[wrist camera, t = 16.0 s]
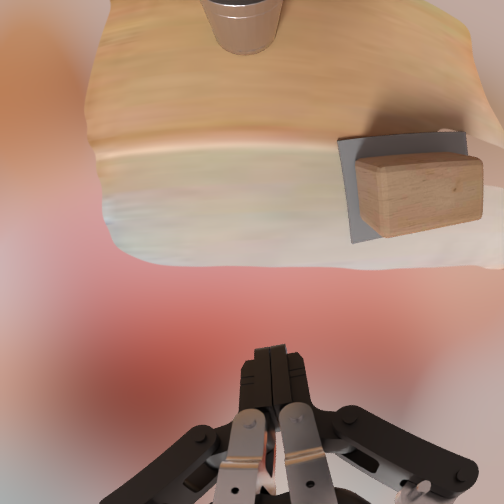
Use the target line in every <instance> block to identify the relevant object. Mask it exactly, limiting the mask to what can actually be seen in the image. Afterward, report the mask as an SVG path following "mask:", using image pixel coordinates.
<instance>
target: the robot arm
mask: <svg viewBox="0 0 504 504" xmlns="http://www.w3.org/2000/svg"><path fill="white" fill-rule="evenodd" d="M200 2H201V4H202V6H203V9H204V11H205V13H206V16H207V18H208V20H209V23H210V25H211V27H212V30H213V32H214V35H215V37H216V39H217V41H218V43H219V44H220V45H221V46H222V48H224V49H225V50H227V51H229V52H231V53H234V54H239V55H250V54H255V53H259V52H261V51H263V50H265V49H266V48H267V47H269V46H270V44H271V43H272V42H273V40H274V38H275V35H276V30H277V26H278V22H279V17H280V12H281V8H282V3H283V0H200ZM254 352H255V353H254V360H248V361H246V362H245V363H244V365H243V367H242V369H241V380H240V385H241V386H240V398H239V412H238V414H237V415H236V416H235V417H234V419H233V421H232V422H230V423H229V424H227V425H224V426H221V427H218V428H215V429H213V428H211V427H210V426H207V425H198V426H195V427H193V428H191V429H190V430H189V431H188V432H187V433H186V434H184V435H183V436H182V437H181V438H180V439H179V440H178V441H176V442H175V443H174V444H173V445H172V446H171V447H170V448H168V449H167V450H166V451H165V452H164V453H162V454H161V455H160V456H159V457H158V458H157V459H155V460H154V461H153V462H152V463H150V464H149V465H148V466H147V467H145V468H144V469H143V470H142V471H140V472H139V473H138V474H136V475H135V476H134V477H133V478H131V479H130V480H129V481H127V482H126V483H125V484H123V485H122V486H121V487H119V488H118V489H117V490H115V491H114V492H112V493H111V494H110V495H108V496H107V497H105V498H104V499H103V500H101V502H100V503H99V504H194V503H195V502H196V501H197V500H198V499H199V498H201V497H202V496H203V495H204V494H205V493H206V492H207V491H208V490H209V489H210V488H212V487H213V486H214V485H215V484H216V489H215V494H214V499H213V502H211V503H210V504H371V503H369V502H368V501H366V500H365V499H363V498H362V497H360V496H359V495H357V494H356V493H354V492H352V491H349V490H346V489H343V488H337V487H334V486H333V483H332V479H331V475H330V471H329V467H328V463H327V460H326V456H325V453H335V454H336V455H337V456H339V457H340V458H341V459H343V460H345V461H346V462H348V463H349V464H351V465H352V466H354V467H356V468H357V469H359V470H360V471H362V472H364V473H365V474H367V475H369V476H370V477H372V478H374V479H375V480H377V481H379V482H381V483H382V484H385V485H386V486H388V487H390V488H392V489H394V490H395V491H397V492H398V493H397V495H396V497H395V504H453V503H454V501H455V500H456V498H457V497H458V496H459V495H460V494H462V493H463V492H465V491H466V490H468V489H469V488H470V487H472V486H473V485H474V483H475V482H476V480H477V478H478V474H479V470H478V466H477V464H476V463H475V462H474V461H472V460H470V459H467V458H464V457H462V456H460V455H457V454H455V453H453V452H450V451H448V450H445V449H443V448H441V447H439V446H436V445H434V444H432V443H430V442H427V441H425V440H423V439H421V438H419V437H417V436H415V435H413V434H410V433H409V432H406V431H405V430H403V429H401V428H398V427H397V426H395V425H393V424H391V423H389V422H387V421H385V420H383V419H381V418H379V417H377V416H375V415H374V414H372V413H370V412H368V411H366V410H364V409H363V408H361V407H358V406H355V405H349V406H345V407H342V408H340V409H339V410H338V411H336V412H332V411H323V410H320V409H318V408H316V407H315V406H314V405H313V404H312V402H311V399H310V394H309V388H308V382H307V378H306V371H305V366H304V361H303V358H302V357H301V356H300V355H299V353H298V352H295V353H290V354H287V349H286V345H285V344H281V345H276V346H271V347H264V348H259V349H255V351H254ZM280 431H281V434H282V440H283V446H284V453H285V467H286V473H287V480H288V486H289V492H286V493H283V494H280V495H276V485H275V463H276V436H275V432H280Z"/></svg>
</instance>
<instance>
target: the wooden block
mask: <svg viewBox="0 0 504 504" xmlns="http://www.w3.org/2000/svg"><path fill="white" fill-rule="evenodd" d="M355 171H356V179H357V188H358V198H359V210H360V217H361V219H362V220H363V221H364V222H366V223H367V224H368V225H369V226H370V227H371V228H373V229H374V230H375V231H376V232H377V233H378V234H380V235H381V236H382V237H385V238H390V237H395V236H400V235H405V234H410V233H416V232H421V231H425V230H430V229H435V228H440V227H445V226H450V225H455V224H460V223H465V222H470V221H474V220H479V219H481V217H482V212H483V163H482V161H481V160H480V159H478V158H476V157H472V156H468V155H463V154H458V153H452V152H431V153H414V154H400V155H388V156H378V157H368V158H360V159H358V160H356V161H355Z"/></svg>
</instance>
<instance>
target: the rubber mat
mask: <svg viewBox="0 0 504 504" xmlns="http://www.w3.org/2000/svg"><path fill="white" fill-rule="evenodd" d="M337 143H338V149H339V154H340V160H341V166H342V172H343V178H344V185H345V192H346V199H347V207H348V216H349V224H350V234H351V243H352V244H354V243H359V242H364V241H368V240H373V239H377V238H382V236H381V235H380V234H378V233H377V232H376V231H375V230H374V229H373V228H371V227H370V226H369V225H368V224H367V223H366V222H364V221H363V220H362V219H361V217H360V210H359V198H358V188H357V179H356V171H355V161H356V160H358V159H360V158H368V157H378V156H388V155H400V154H414V153H431V152H452V153H458V154H463V155H468V151H467V141H466V132H428V133H409V134H396V135H384V136H374V137H365V138H356V139H348V140H341V141H337Z"/></svg>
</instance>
